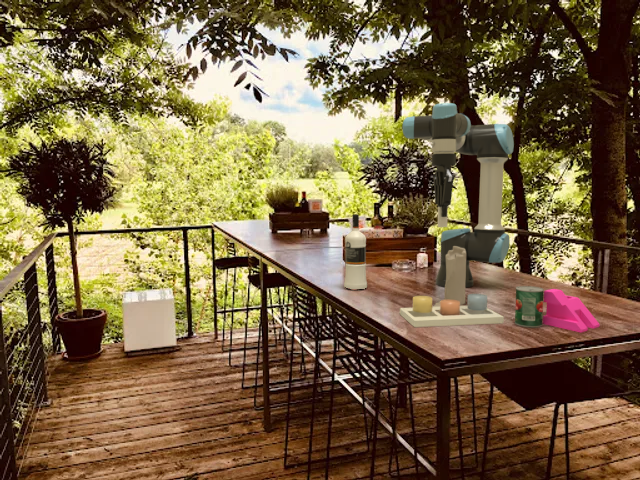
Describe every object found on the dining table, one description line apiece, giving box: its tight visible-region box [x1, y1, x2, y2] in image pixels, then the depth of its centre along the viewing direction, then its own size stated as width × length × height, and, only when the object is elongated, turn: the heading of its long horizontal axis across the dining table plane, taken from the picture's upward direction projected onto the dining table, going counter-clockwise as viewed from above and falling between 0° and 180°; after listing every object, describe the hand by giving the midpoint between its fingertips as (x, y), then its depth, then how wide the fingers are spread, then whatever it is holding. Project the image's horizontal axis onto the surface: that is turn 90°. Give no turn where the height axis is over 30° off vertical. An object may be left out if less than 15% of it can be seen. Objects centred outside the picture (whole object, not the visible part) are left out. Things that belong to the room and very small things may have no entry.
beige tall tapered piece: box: [432, 246, 466, 307], centre depth 191 cm, size 7×14×20 cm, turn 130°
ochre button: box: [412, 295, 433, 313], centre depth 170 cm, size 6×6×4 cm
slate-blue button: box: [466, 293, 488, 310], centre depth 173 cm, size 6×6×4 cm
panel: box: [399, 304, 505, 328], centre depth 172 cm, size 16×28×2 cm, turn 98°
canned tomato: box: [514, 285, 545, 328], centre depth 164 cm, size 8×8×11 cm
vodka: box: [343, 213, 368, 290], centre depth 218 cm, size 9×9×30 cm
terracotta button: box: [439, 299, 461, 316], centre depth 172 cm, size 6×6×4 cm
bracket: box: [542, 288, 601, 333], centre depth 163 cm, size 12×10×10 cm
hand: (442, 226), depth 177 cm, fingers closed
